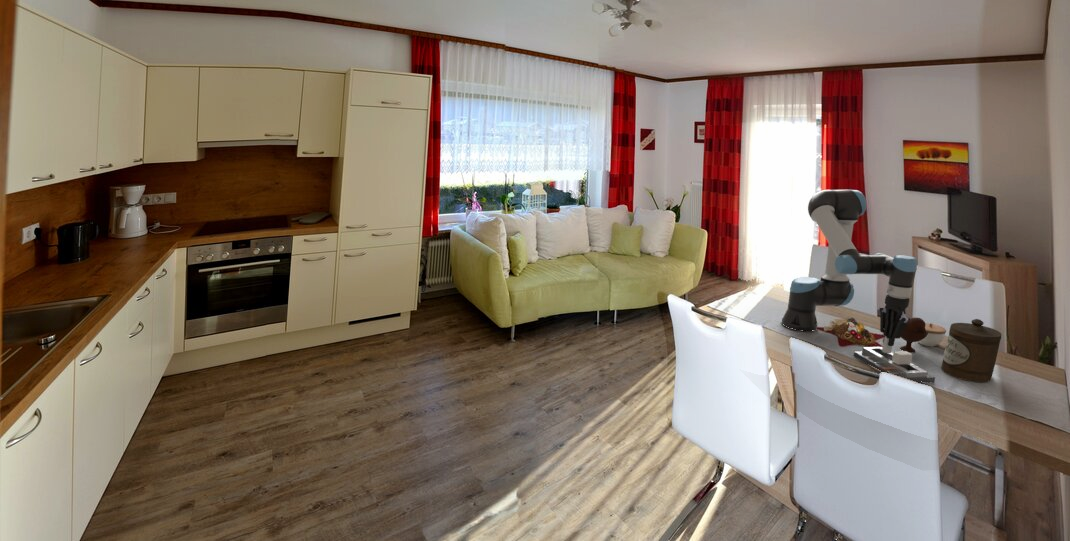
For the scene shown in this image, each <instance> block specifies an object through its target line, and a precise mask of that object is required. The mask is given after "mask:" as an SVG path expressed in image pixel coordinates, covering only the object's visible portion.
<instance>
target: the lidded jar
mask: <svg viewBox="0 0 1070 541" xmlns="http://www.w3.org/2000/svg"><path fill="white" fill-rule="evenodd" d="M925 329H926V331H928V332H929V333H928V335H927V336H926V337H925V338H924V339H922V340H920V341H918V344H920V345H922V346H925V347H936V346H937V345H939V344H941V343H942V341H943V340H944V338H945V336H946V332H947V329H946V328H945V327H943V326H942V325H941V326H940V325H937V324H934V323H932V322H930V323H928V322H925Z"/></svg>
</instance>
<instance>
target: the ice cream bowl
mask: <svg viewBox="0 0 1070 541" xmlns="http://www.w3.org/2000/svg"><path fill="white" fill-rule="evenodd" d="M925 323H926V322H925V321H924V320H923V318H921V317H912V318H910V321H909V322H908V323H907V324H906V327H905V329H904V331H903V333H902V335H901V337H900V339H902V340H904V342H905V341H906V343H905V345H904V346H903V345H902V346H900V347H899V350H900V349H901V351H902V350H903V351H907V352H913V353H912V354H914V353H916V351H917V350H915V348H914V347H912V344H913V343H917V342H918V341H920V340H922V339H924V338H925V337H926V336H927V335H928V333H929V332H928V331H926V329H925ZM918 343H919V342H918Z"/></svg>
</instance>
